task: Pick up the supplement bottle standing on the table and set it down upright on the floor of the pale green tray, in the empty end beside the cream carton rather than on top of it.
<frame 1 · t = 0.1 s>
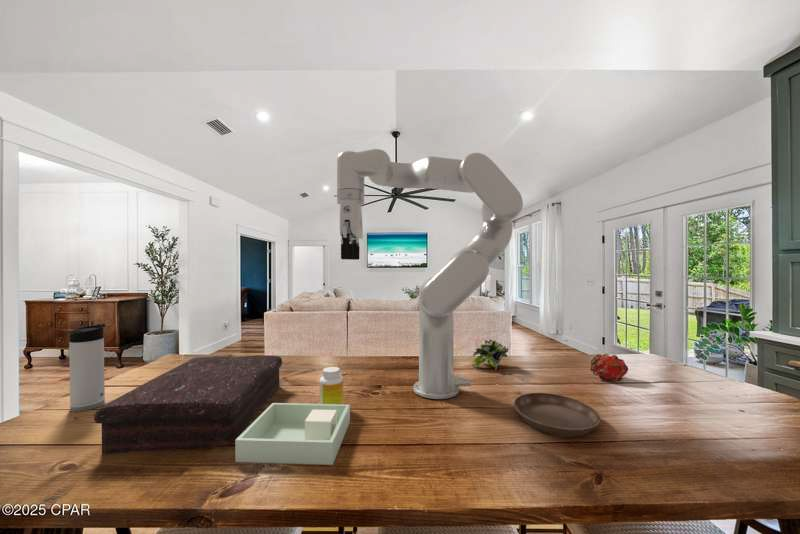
hand: (350, 259, 93), 37 cm above the table, tool pointing down, fingers open, 9 cm apart
supplement bottle: (331, 412, 80), on the table
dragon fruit: (609, 379, 103), on the table
green leafy plant: (491, 368, 113), on the table
pale green tray: (298, 442, 66), on the table
travel mug: (88, 407, 83), on the table
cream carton: (321, 440, 66), point 1 cm above the table, touching pale green tray
plant saucer: (554, 422, 76), on the table
folded brown towel: (209, 415, 79), on the table
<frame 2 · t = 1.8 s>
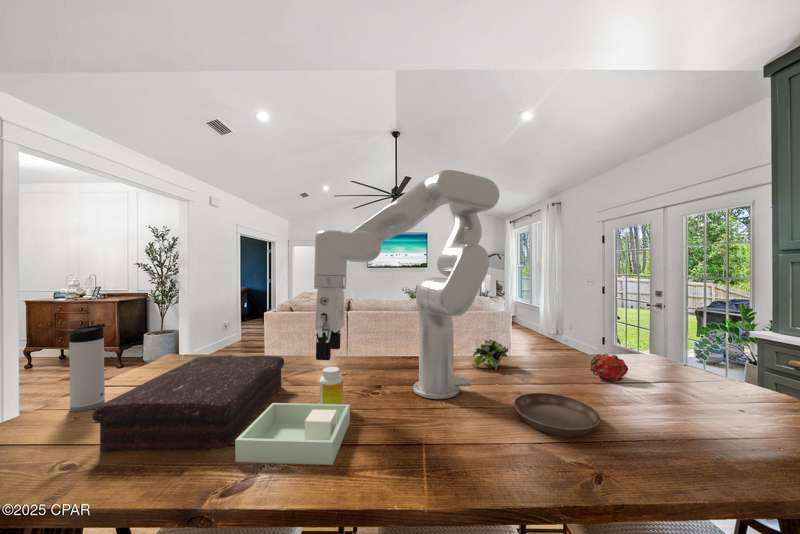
hand: (328, 354, 80), 14 cm above the table, tool pointing down, fingers open, 9 cm apart
nothing on the table moved.
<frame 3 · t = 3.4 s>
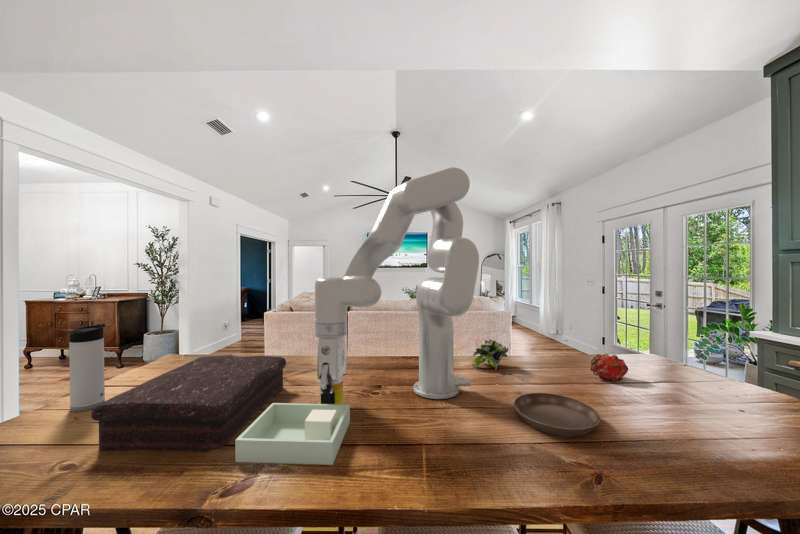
hand: (331, 402, 80), 2 cm above the table, tool pointing down, fingers closed on supplement bottle, 5 cm apart
supplement bottle: (331, 412, 80), on the table, touching gripper
everything else where it was.
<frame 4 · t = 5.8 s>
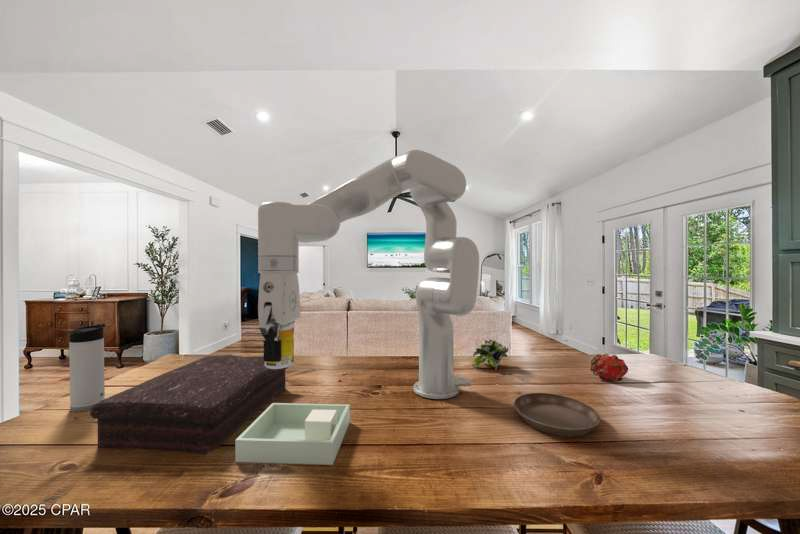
hand: (279, 355, 66), 17 cm above the table, tool pointing down, fingers closed on supplement bottle, 5 cm apart
supplement bottle: (279, 366, 66), point 15 cm above the table, touching gripper
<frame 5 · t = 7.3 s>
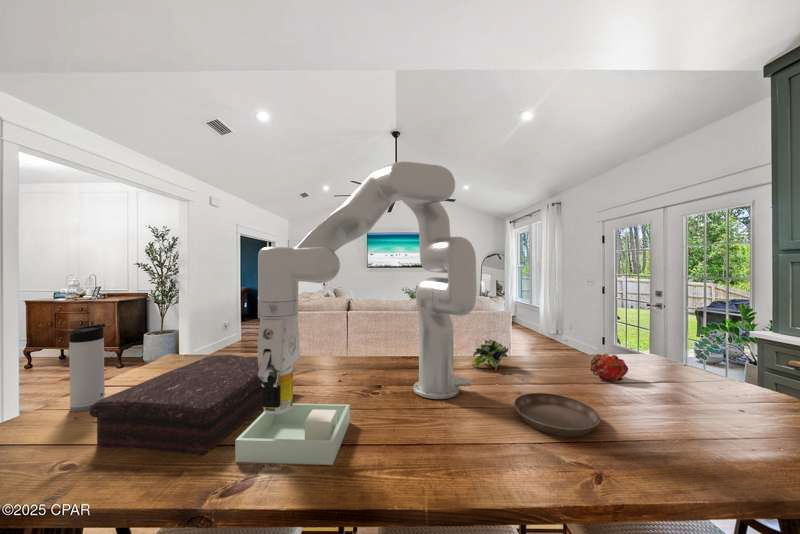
hand: (278, 398, 66), 9 cm above the table, tool pointing down, fingers closed on supplement bottle, 5 cm apart
supplement bottle: (278, 409, 66), point 7 cm above the table, touching gripper
when the fingers open (5 cm above the table, at t = 8.6 s): supplement bottle drops 2 cm, resting on pale green tray.
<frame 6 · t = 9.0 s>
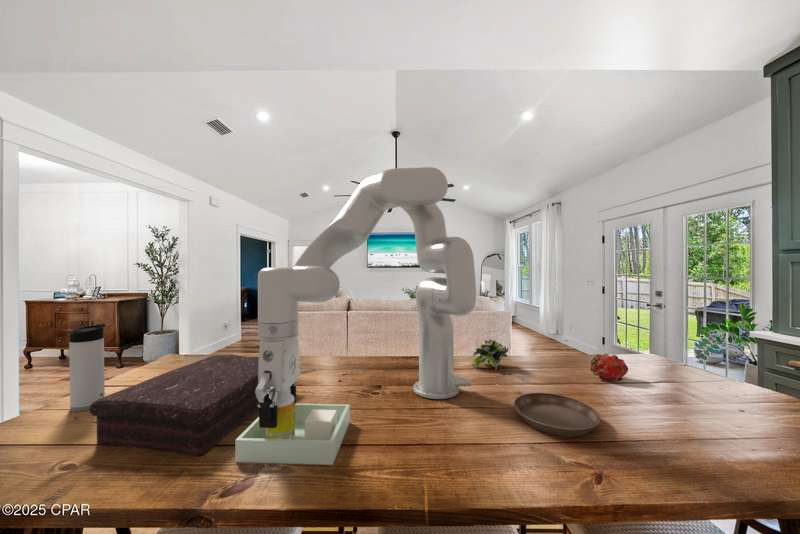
hand: (279, 414, 66), 5 cm above the table, tool pointing down, fingers open, 9 cm apart
supplement bottle: (280, 439, 67), resting on pale green tray
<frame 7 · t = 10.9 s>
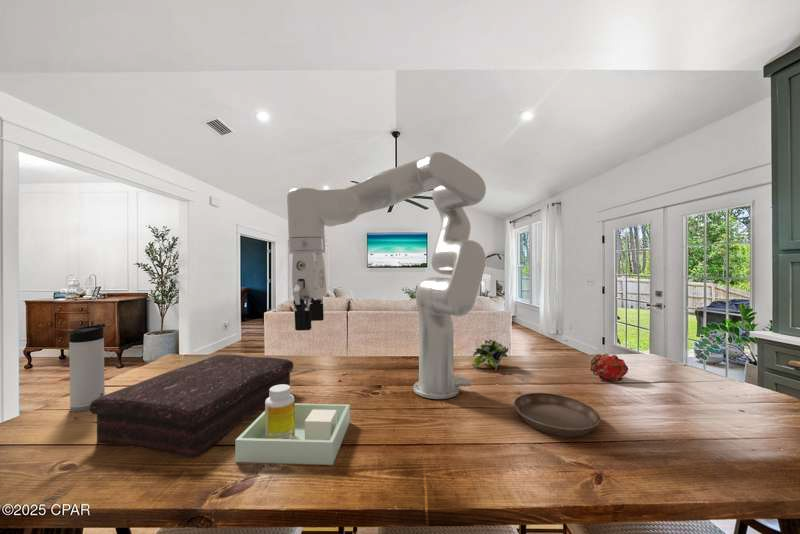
hand: (310, 324, 73), 22 cm above the table, tool pointing down, fingers open, 9 cm apart
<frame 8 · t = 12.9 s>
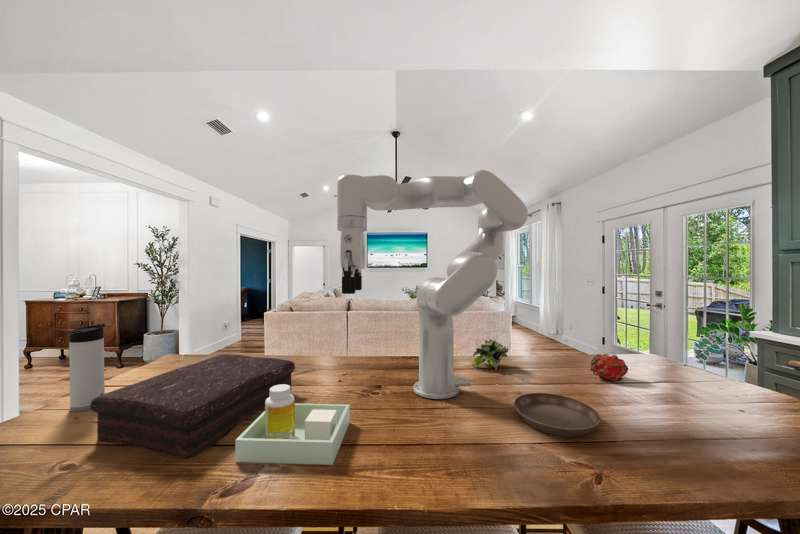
hand: (352, 291, 85), 28 cm above the table, tool pointing down, fingers open, 9 cm apart
at the end: supplement bottle inside the target area on the pale green tray (0.5 cm from its centre), point 0.4 cm above the pale green tray's base; supplement bottle tilted 0°; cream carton moved 0.0 cm from its start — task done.
